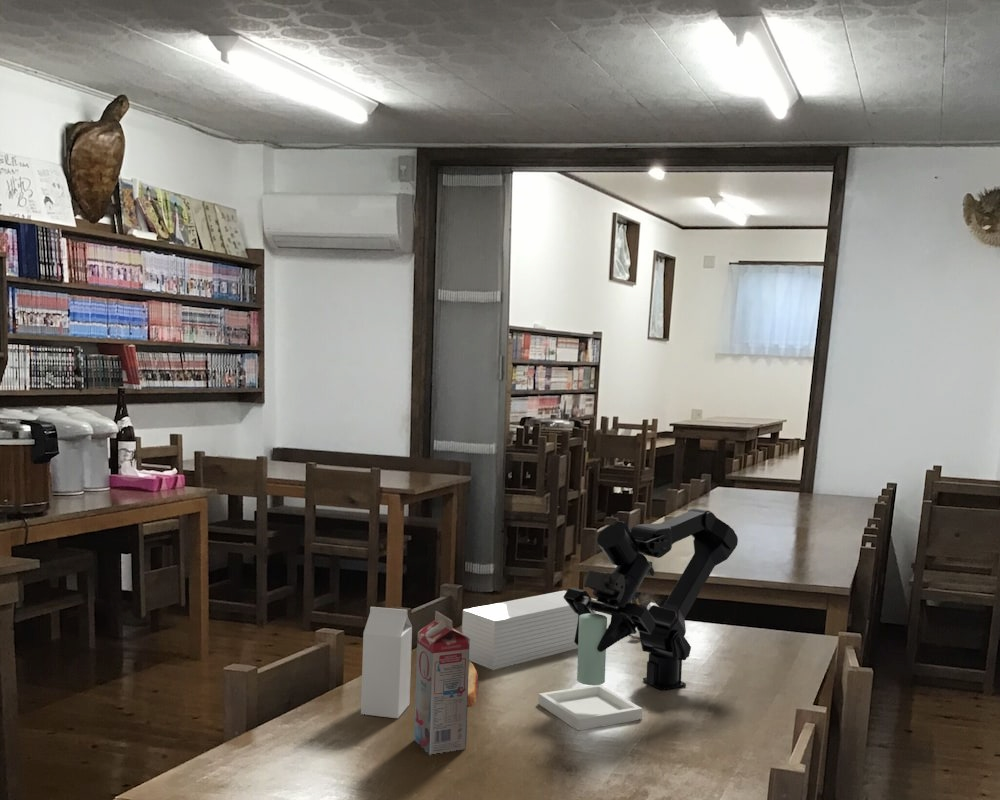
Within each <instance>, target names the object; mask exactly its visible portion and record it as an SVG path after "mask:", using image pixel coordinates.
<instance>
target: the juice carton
mask: <svg viewBox="0 0 1000 800" xmlns="http://www.w3.org/2000/svg"><path fill="white" fill-rule="evenodd" d="M416 639H417V642H416V643H417V645H416V668H415V669H416V670H415V671H416V674H415V677H416V678H415V702H414V703H415V704H414V708H415V709H414V732H413V733H414V738H413V740H415V741H414V742H416V744H417V745H419V744H420V745H421V746H420V745H419V746H420V747H421V748H422V747H423V748H424V749H425V750H426V751H427V752H428V753H427V752H426V751H425V750H424V749H423V748H422V749H423V750H424V751H425V752H426V753H427V755H429V754H435V755H437V754H436V753H440V754H444V753H443V752H446V753H450V751H451V752H457V751H461V750H466V749H467V735H468V734H467V733H468V732H467V731H468V730H467V729H468V707H467V706H468V675H469V662H470V660H469V646H470V639H469V638H468V637H466V636H465V635H463V634H462V632H460V631H458V630H457V629H455V628H454V627H453V619H450V618H449V617H448V616H445V615H444V614H442V613H440V612H439V611H437V610H435V612H434V620H433V621H432V622H430V623H429V624H427V625H426V626H424V627H422V628H421V629H420V630H419V631H417V638H416ZM456 750H457V751H456Z"/></svg>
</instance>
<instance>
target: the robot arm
mask: <svg viewBox="0 0 1000 800" xmlns="http://www.w3.org/2000/svg"><path fill="white" fill-rule="evenodd" d="M688 537H692V538H693V549H694V551H693V552H694V553H693V555H692V557H691V558H690V560H689V562H688V563H687V565H686V567H685V569H684V571H682V574H681V576H680V577H679V578H678V580H677V582H676V584H675V586H674V587H673V589H672V591H671V593H670V594H669V596H668V598H667V600H665V602H664V604H663V605H661V606H659V605H658V606H659V607H658V606H654V605H653V606H652V607H650V609H649V611H648V609H647V607H646V605H643V604H640V603H639V604H640V605H639V604H637V603H635V602H632V601H633V599H634V600H636V599H638V598H639V597H640V594H639V593H638V590H639V588H640V586H641V584H642V583H643V581H644V579H645V577H646V576H650V577H653V576H654V575H655V570H654V567H653V562H652V561H649V560H648V559H647V556H648V557H652V558H657V559H659V558H662V557H664V556H665V555H667V554H668V553H669V552H670V551H671V550H672V547H673V545H674V544H675V543H677V542H679V541H682V540H683V539H686V538H688ZM596 541H597V544H598V546H599V547H600V549H601V550H602V552H603V553H604V554H605V556H606V557H607V559H608V560H609V562H610V563H611V564H612V565H614V566H616V567H615V568H614V569H613V572H612V573H609V572H607V573H603V572H599V571H595V570H590V569H589V570H588V571H587V573H586V577H585V580H584V583H583V587H584V588H589V589H591V590H593V591H592V595H593V596H594V597H596V598H597V599H596V600H597V601H596V600H593V599H594V598H593V599H591V598H592V597H591V595H589V593H588V592H587V590H584V589H580V588H576V587H569V588H568V589H567V590H566V591H567V592H566V593H565V595H564V597H563V598H564V599H565V600H566V602H567V603H568V604H569V605H570V607H571V608H572V609H573V611H574V612H575V613H577V614H578V624H577V629H576V635H575V640H574V642H575V643H576V645H578V636H579V616H580V615H582V614H589V613H592V614H595V611H596V612H597V613H598V612H599V613H602V614H604V615H605V614H607V615H609V616H611V617H610V623H609V625H607V630H606V632H605V634H604V635H603V637H602V639H601V641H600V643H599V646H598V648H597V649H598V651H599V652H602V651H604V650H605V649H606V650H607V649H608V648H611V646H613V645H615V644H616V643H618V642H619V641H621V640H623V639H624V638H627V637H629V636H630V635H636V634H637V633H636V630H635V629H636V627H637V629H638V631H639V633H638V635H639V640H640V644H641V649H642V651H643V652H647V653H648V661H647V662H646V676H645V677H643V678H642V681H643V682H645V683H647V684H650V685H651V686H653V687H655V688H657V689H658V690H661V691H664V690H670V689H671V690H673V689H676V688H682V687H683V688H684V687H686V686H687V683H686V682H684V681H682V671H683V670H682V668H683V661H686V660H687V658H689V657H690V653H691V650H692V649H691V648H692V646H691V645H690V643H689V642H688V640H687V639H686V637H685V636H686V631H687V630H686V628H687V627H686V621H685V619H686V617H687V616H688V613H689V612H690V610H691V608H692V606H693V605H694V604H695V602H696V599H697V598H698V596H699V595H700V593H701V590H702V589H703V587H704V586H705V584H706V582H707V581H708V579H709V577H710V575H711V573H712V572H713V570H714V568H715V567H716V566H717V565H719V564H722V563H723V562H725V561H727V560H728V559H729V558H730V557H731V555H732V554H733V552H734V551H735V549H736V548H737V546H738V542H739V540H738V536H737V534H736V532H735V530H734V529H733V528H732V527H731V526H730V525H729V524H727V523H725V522H724V521H722V520H721V519H720V518H718V517H717V516H716V515H715V513H713V512H712V511H711V510H709V509H701V508H690V509H689V510H688V511H687V512H684V513H682V514H680V515H679V514H678V515H677V516H675V517H672V518H669V519H667V520H665V521H663V522H661V523H641V524H635V525H634V526H633V527H632V528H631V529H629V526H628V524H627V523H626V521H622V520H621V521H620V520H616V522H615V523H614V524H612V525H609V526H607V527H605V528H604V529H602V531H600V532H599V533H598V535H597V540H596ZM638 600H639V599H638Z"/></svg>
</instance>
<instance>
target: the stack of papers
mask: <svg viewBox="0 0 1000 800" xmlns="http://www.w3.org/2000/svg"><path fill="white" fill-rule="evenodd" d="M566 592H567V590H559V591H555V592H550V593H549V592H548V593H545V594H539V595H532V596H527V597H522V598H517V599H513V600H508V601H502V602H501V601H500V602H497V603H491V604H487V605H481V606H475V607H471V608H464V609H462V621H461V622H462V624H461V625H462V626H461V627H462V628H461V633H462V634H463V635H465V636H466V637H468V638H469V639H470V646H469V662H470V661H471V662H473V663H475V664H477V665H480V666H483V667H484V668H488V669H490V670H492V671H495V670H498V669H502V668H506V667H510V665H511V666H515V665H517V664H522V663H526V662H529V661H534V660H537V659H538V660H539V659H541V658H546V657H550V656H553V655H557V654H561V653H564V652H569V651H573V650H576V649H577V650H578V645H576V643H575V642H574V640H575V635H576V629H577V624H578V614H577V613H575V612H574V611H573V609H572V608H571V607H570V605H569V604H568V603H567V602H566V600H565V599H564V598H563V597H564V595H565V593H566ZM591 599H593V600H596V601H597V599H596V598H592V597H591ZM595 614H597V611H595ZM514 664H515V665H514Z"/></svg>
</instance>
